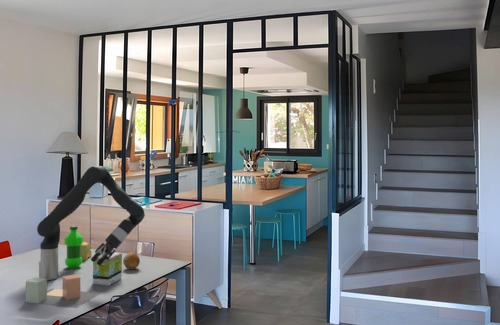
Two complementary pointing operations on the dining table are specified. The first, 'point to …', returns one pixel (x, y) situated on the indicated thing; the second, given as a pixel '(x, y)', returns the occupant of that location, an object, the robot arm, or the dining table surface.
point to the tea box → (108, 270)
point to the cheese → (85, 250)
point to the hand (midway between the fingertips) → (95, 262)
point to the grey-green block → (36, 290)
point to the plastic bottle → (73, 248)
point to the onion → (131, 260)
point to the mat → (57, 299)
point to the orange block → (71, 287)
